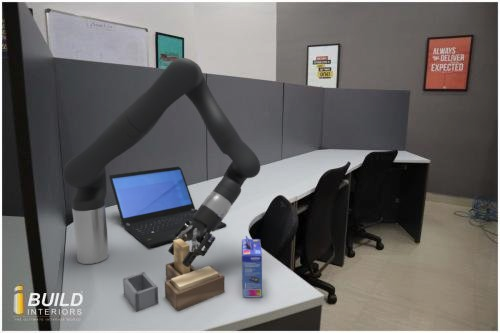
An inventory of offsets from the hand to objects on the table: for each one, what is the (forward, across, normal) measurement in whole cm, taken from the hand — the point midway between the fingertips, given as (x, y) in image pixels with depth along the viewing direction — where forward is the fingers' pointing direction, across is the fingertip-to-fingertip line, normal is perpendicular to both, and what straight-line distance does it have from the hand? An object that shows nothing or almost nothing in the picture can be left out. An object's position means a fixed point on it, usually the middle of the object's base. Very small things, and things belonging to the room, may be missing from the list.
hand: (177, 259), depth 92 cm
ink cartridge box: (-5, +14, +16) cm, 22 cm away
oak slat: (+4, 0, +6) cm, 8 cm away
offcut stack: (+4, +7, +6) cm, 11 cm away
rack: (+4, +4, +6) cm, 8 cm away
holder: (+13, 0, -2) cm, 13 cm away
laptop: (-7, -45, +18) cm, 49 cm away
